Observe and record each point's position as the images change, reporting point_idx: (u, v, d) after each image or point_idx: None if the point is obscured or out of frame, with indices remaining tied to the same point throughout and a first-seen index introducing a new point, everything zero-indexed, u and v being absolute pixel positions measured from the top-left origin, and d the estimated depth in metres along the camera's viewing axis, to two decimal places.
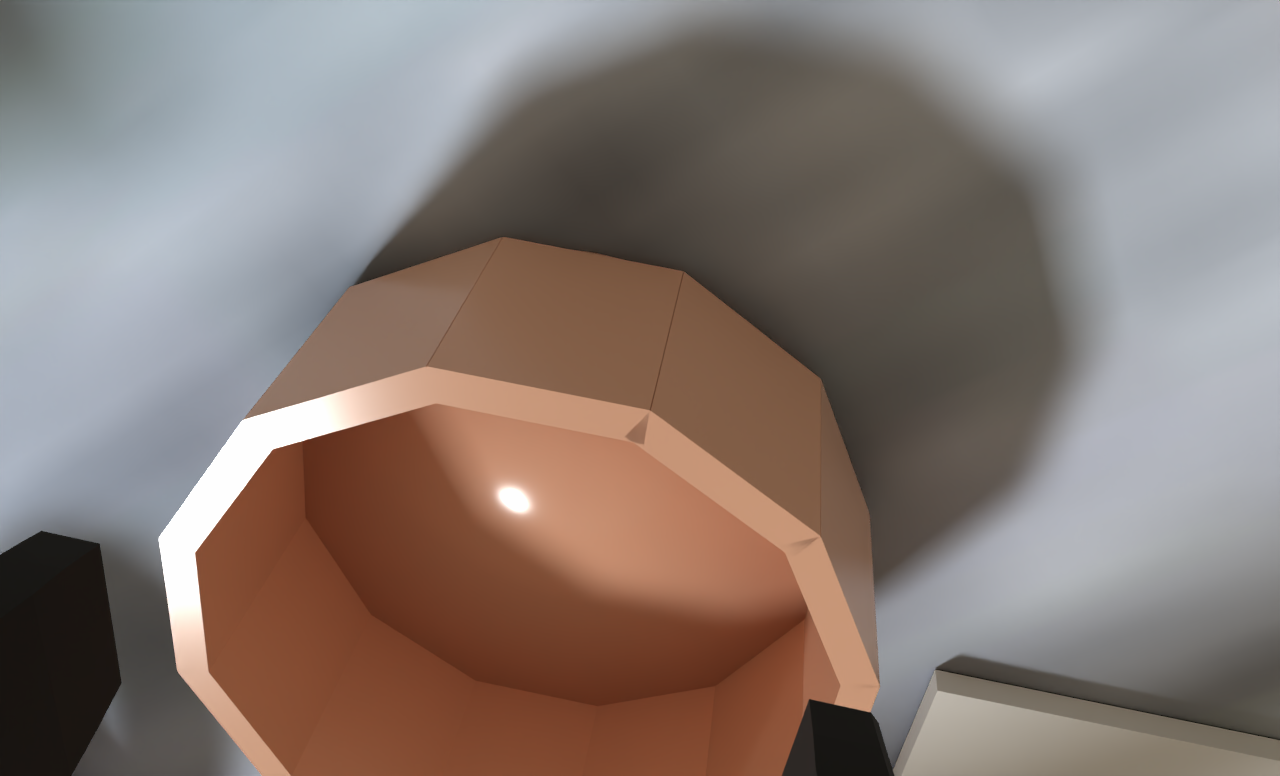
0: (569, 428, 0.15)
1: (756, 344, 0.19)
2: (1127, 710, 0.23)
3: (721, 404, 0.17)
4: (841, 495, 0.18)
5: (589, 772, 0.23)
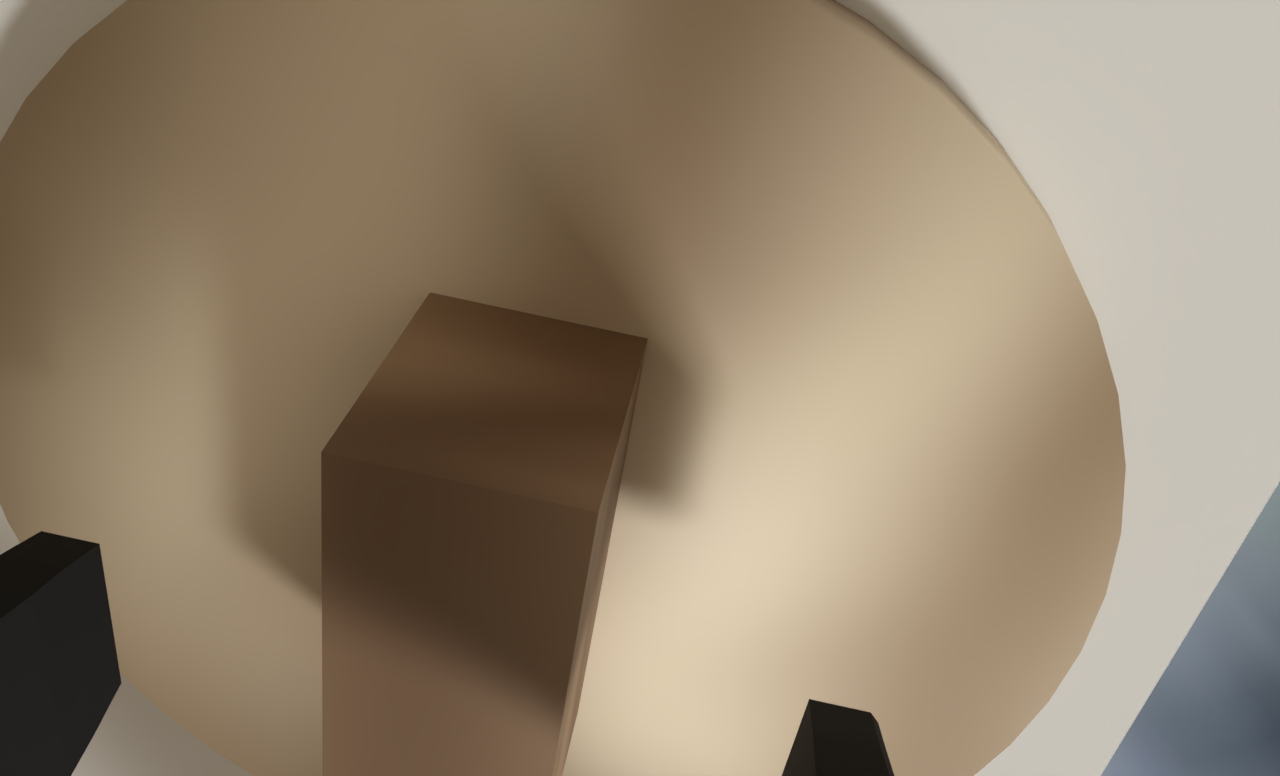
0: None
1: None
2: None
3: None
4: None
5: None
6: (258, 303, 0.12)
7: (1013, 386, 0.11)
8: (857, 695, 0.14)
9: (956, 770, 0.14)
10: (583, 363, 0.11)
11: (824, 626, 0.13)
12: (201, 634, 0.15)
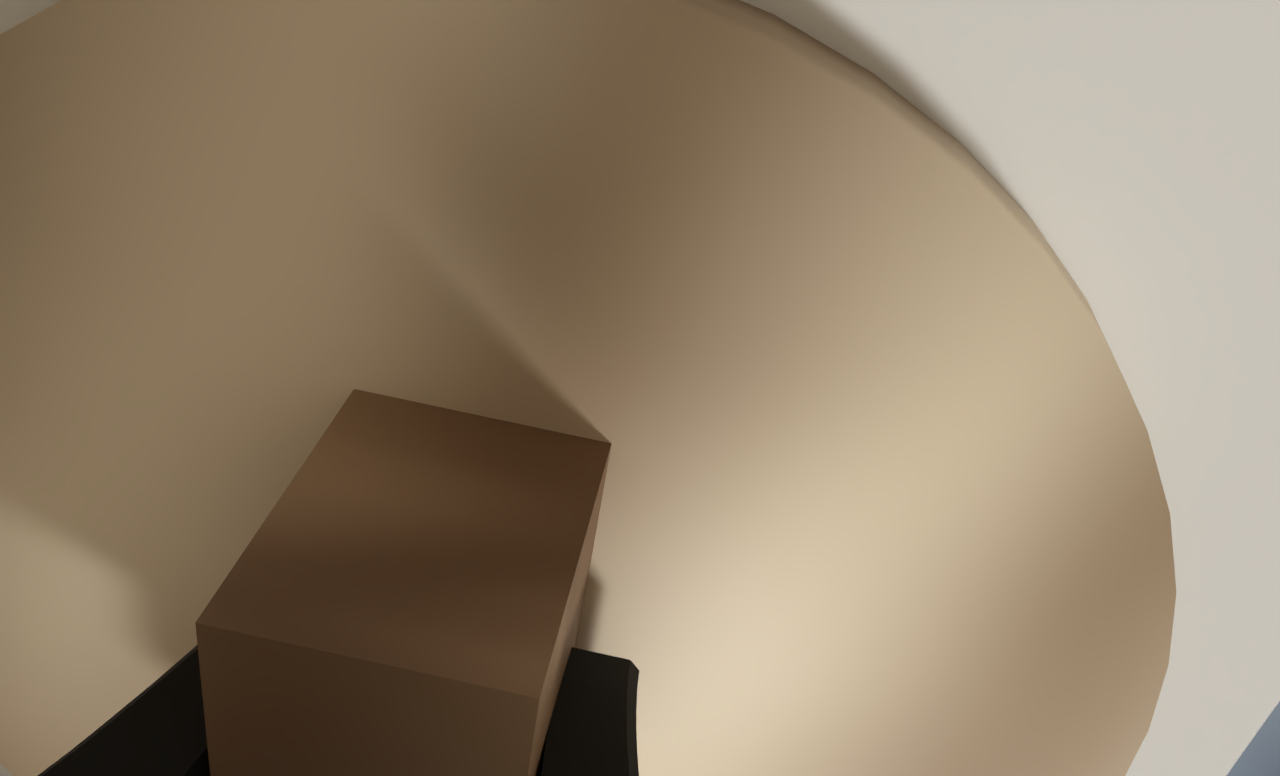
0: None
1: None
2: None
3: None
4: None
5: None
6: (155, 398, 0.10)
7: (1044, 502, 0.10)
8: None
9: None
10: (531, 480, 0.09)
11: (822, 758, 0.12)
12: None
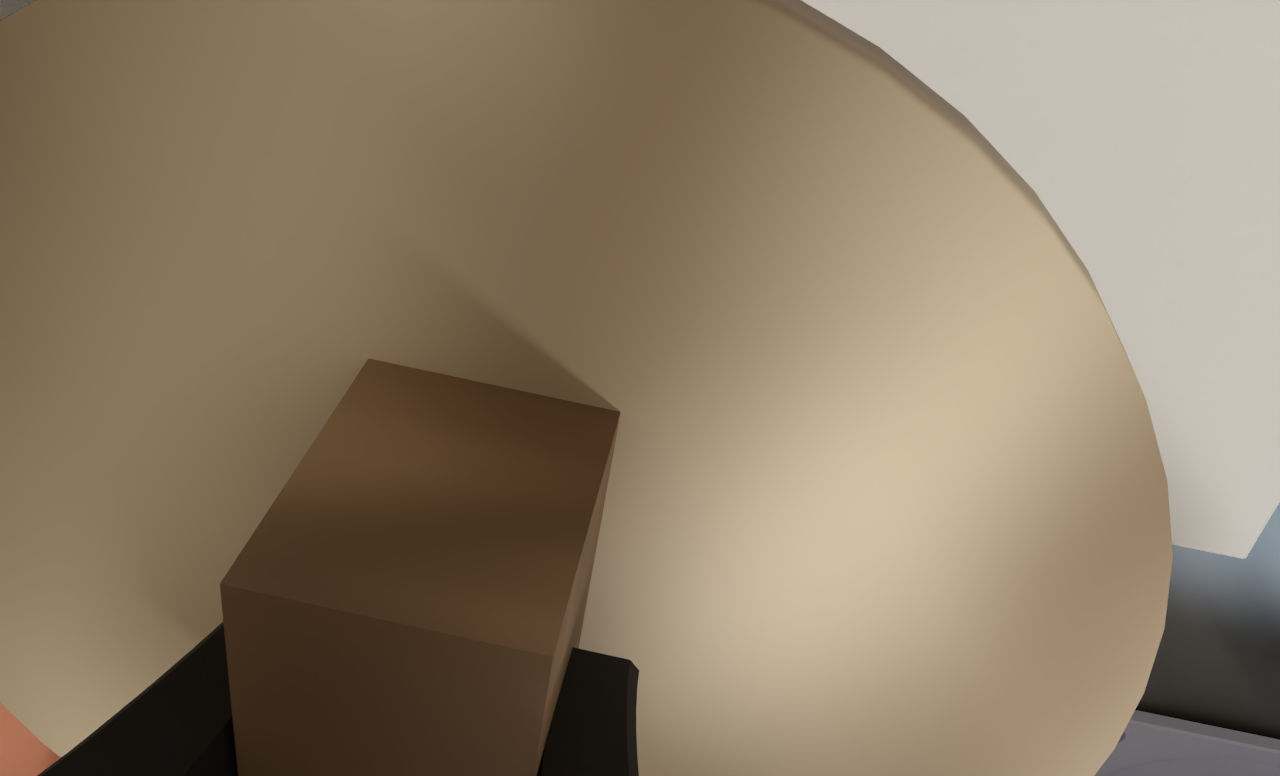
0: None
1: None
2: None
3: None
4: None
5: None
6: (173, 367, 0.11)
7: (1044, 469, 0.10)
8: None
9: None
10: (543, 447, 0.09)
11: (824, 717, 0.12)
12: None
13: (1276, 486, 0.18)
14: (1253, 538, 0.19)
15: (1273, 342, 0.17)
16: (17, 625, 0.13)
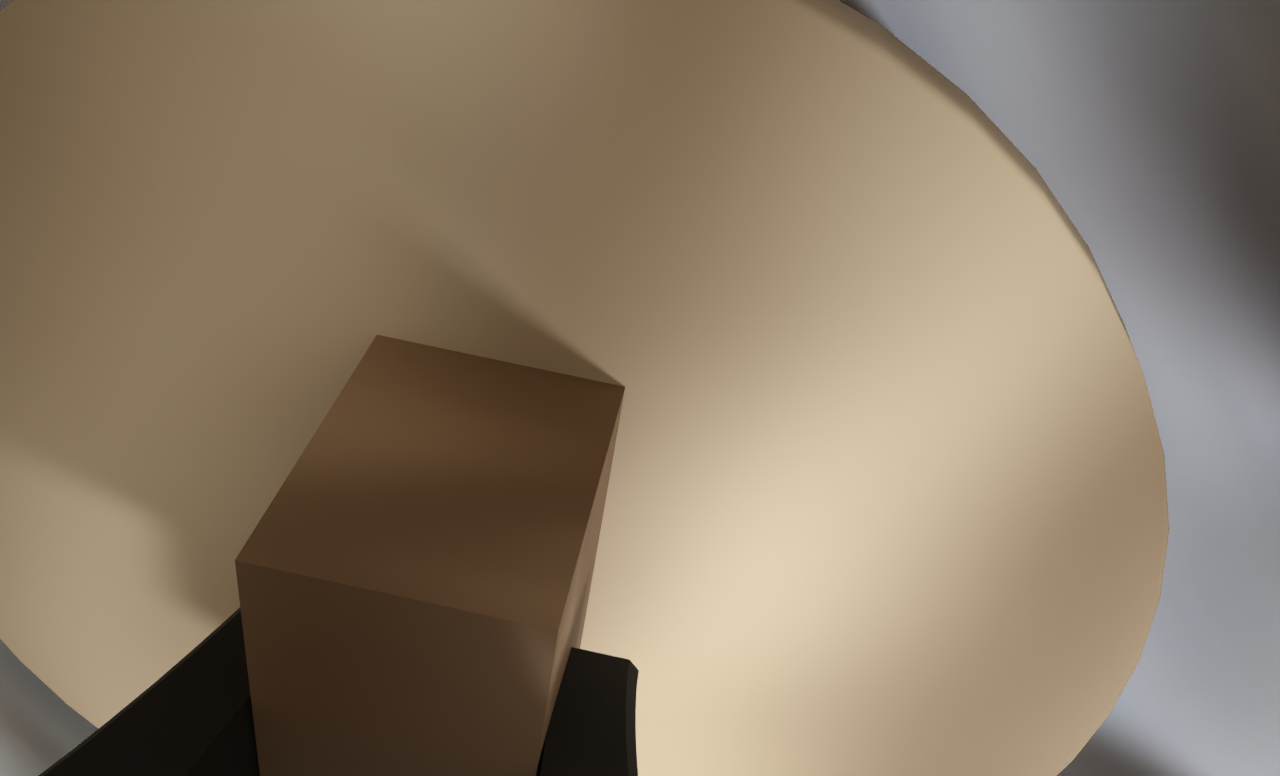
0: None
1: None
2: None
3: None
4: None
5: None
6: (186, 343, 0.11)
7: (1043, 443, 0.10)
8: (862, 750, 0.13)
9: None
10: (548, 424, 0.10)
11: (827, 683, 0.12)
12: (155, 675, 0.14)
13: None
14: None
15: None
16: (39, 591, 0.13)
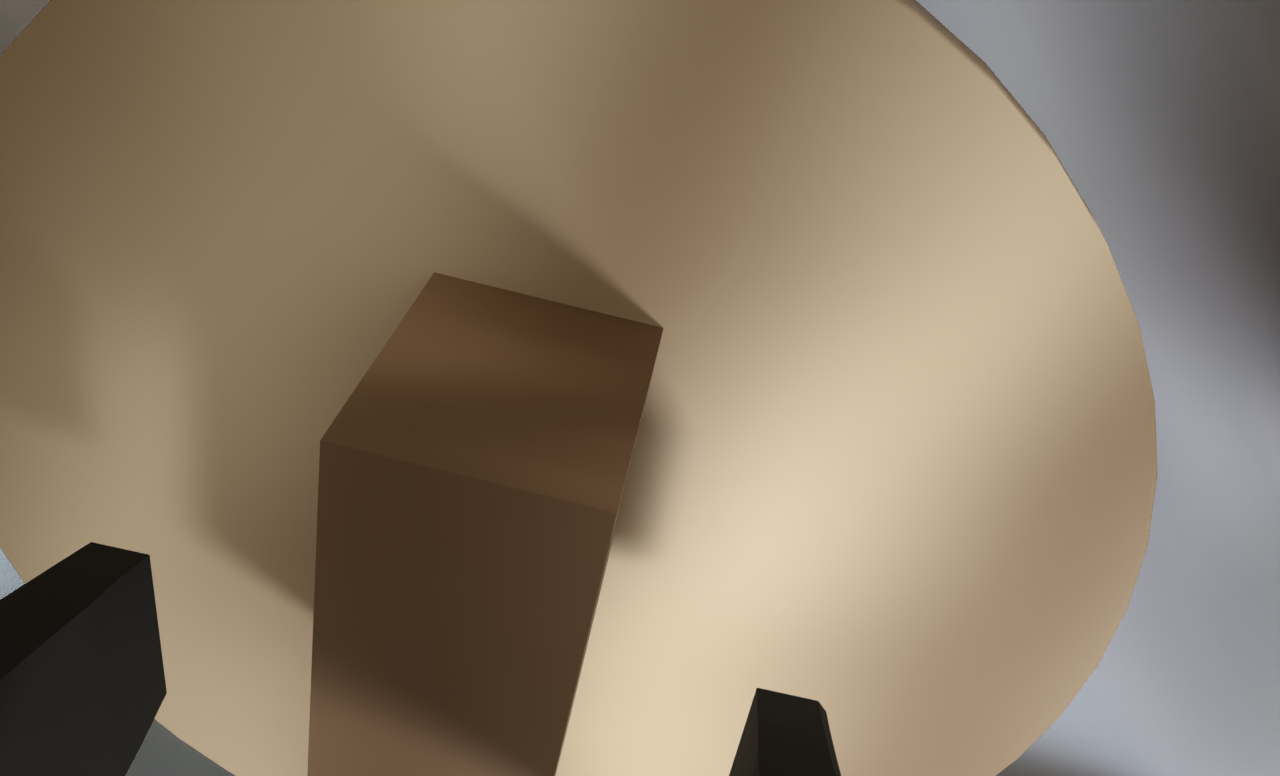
0: None
1: None
2: None
3: None
4: None
5: None
6: (250, 278, 0.11)
7: (1045, 389, 0.11)
8: (863, 703, 0.13)
9: None
10: (596, 352, 0.10)
11: (833, 633, 0.13)
12: (177, 624, 0.14)
13: None
14: None
15: None
16: (72, 533, 0.14)
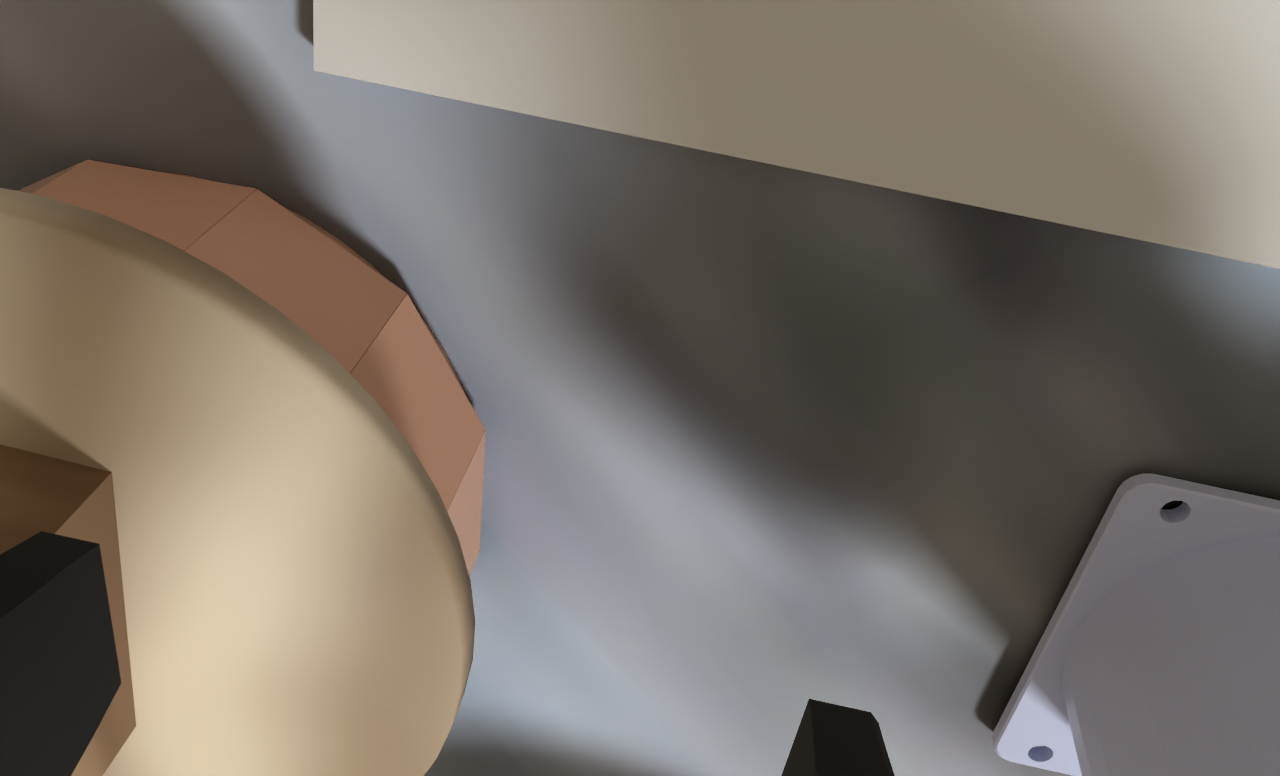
0: None
1: None
2: None
3: None
4: None
5: None
6: None
7: (355, 515, 0.16)
8: (322, 720, 0.19)
9: None
10: (46, 493, 0.16)
11: (285, 671, 0.18)
12: None
13: None
14: None
15: None
16: None
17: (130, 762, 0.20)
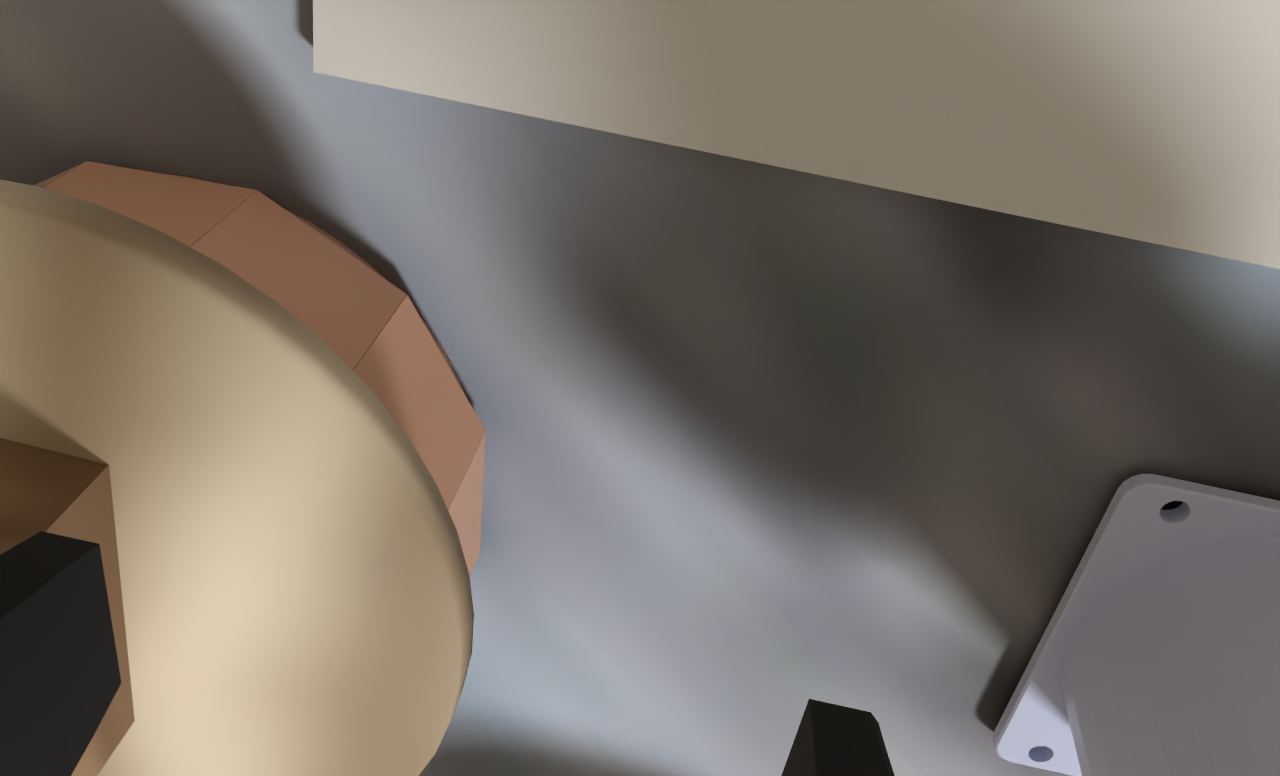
0: None
1: None
2: None
3: None
4: None
5: None
6: None
7: (353, 507, 0.16)
8: (321, 714, 0.19)
9: (406, 771, 0.19)
10: (43, 486, 0.16)
11: (284, 664, 0.18)
12: None
13: None
14: None
15: None
16: None
17: (129, 757, 0.20)
